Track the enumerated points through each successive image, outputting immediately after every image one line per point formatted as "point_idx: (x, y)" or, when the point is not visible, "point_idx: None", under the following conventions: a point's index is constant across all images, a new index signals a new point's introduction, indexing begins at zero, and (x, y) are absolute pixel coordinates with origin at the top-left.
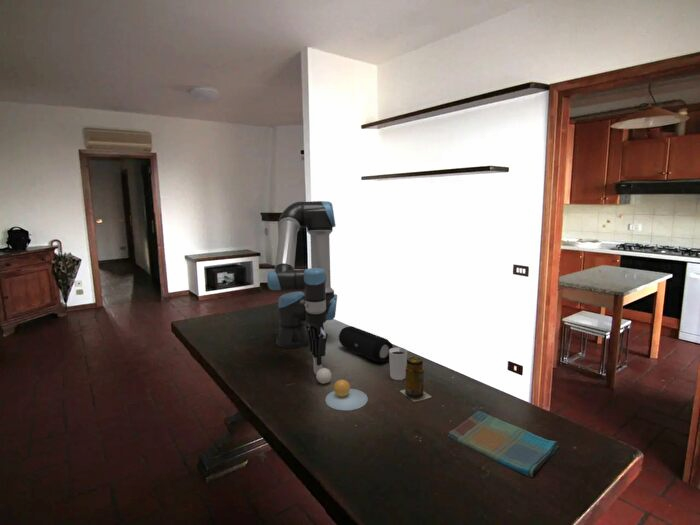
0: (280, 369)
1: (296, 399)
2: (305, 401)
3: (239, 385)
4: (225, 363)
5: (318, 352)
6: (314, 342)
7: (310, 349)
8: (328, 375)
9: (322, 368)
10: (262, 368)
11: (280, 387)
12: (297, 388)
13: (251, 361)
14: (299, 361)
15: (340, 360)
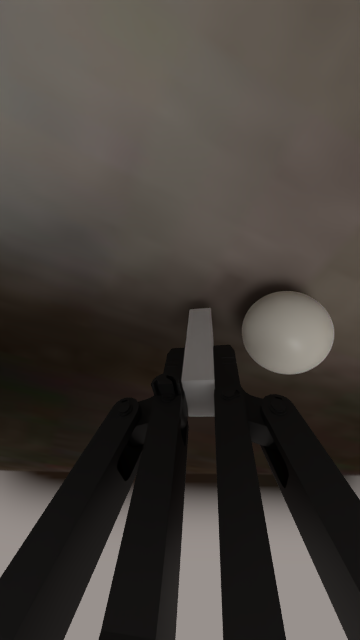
0: (84, 390)
1: (313, 414)
2: (348, 402)
3: None
4: (21, 458)
5: (287, 475)
6: (178, 551)
7: (138, 447)
8: (333, 330)
9: (292, 363)
10: (65, 419)
11: (211, 420)
12: (248, 393)
13: (11, 425)
14: (19, 322)
15: (19, 78)
